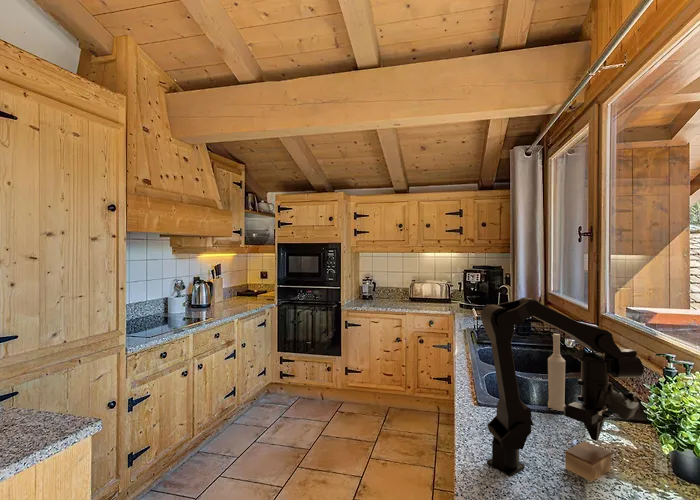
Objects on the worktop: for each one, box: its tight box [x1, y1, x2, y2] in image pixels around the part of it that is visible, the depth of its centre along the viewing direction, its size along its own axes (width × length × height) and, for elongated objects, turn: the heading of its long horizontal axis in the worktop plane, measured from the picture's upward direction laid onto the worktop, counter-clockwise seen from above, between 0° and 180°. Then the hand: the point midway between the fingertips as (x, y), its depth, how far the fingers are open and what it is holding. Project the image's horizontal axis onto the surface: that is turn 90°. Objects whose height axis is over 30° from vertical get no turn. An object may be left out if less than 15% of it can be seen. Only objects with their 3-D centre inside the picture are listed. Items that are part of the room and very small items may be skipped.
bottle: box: [547, 333, 566, 412], centre depth 124 cm, size 5×5×25 cm
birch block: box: [564, 440, 612, 483], centre depth 90 cm, size 4×6×9 cm
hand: (594, 440), depth 92 cm, fingers closed
